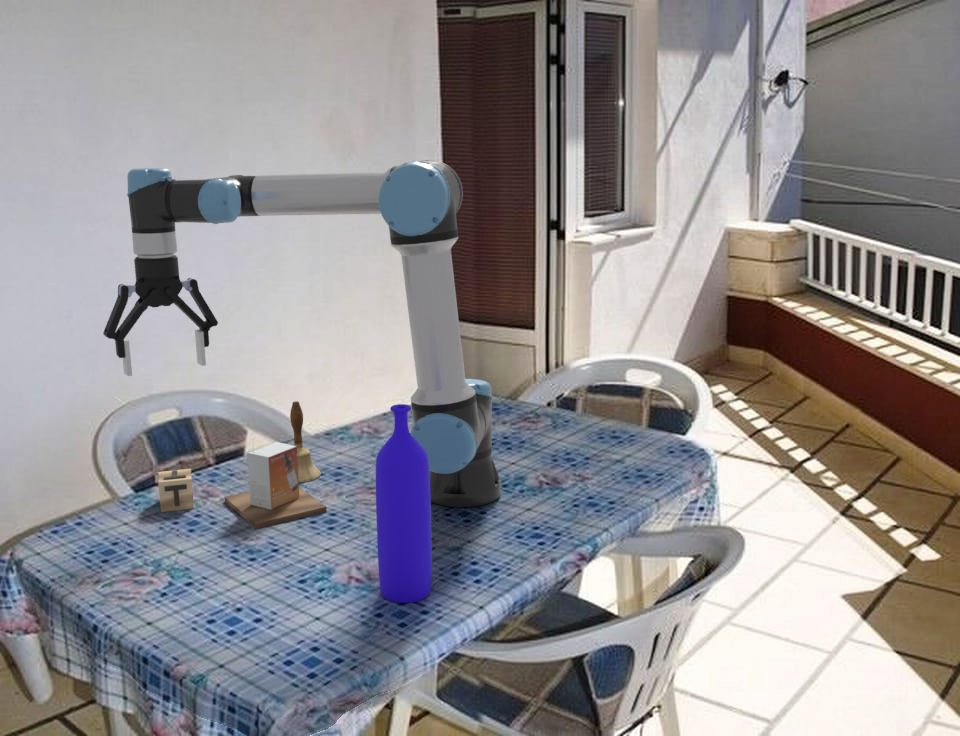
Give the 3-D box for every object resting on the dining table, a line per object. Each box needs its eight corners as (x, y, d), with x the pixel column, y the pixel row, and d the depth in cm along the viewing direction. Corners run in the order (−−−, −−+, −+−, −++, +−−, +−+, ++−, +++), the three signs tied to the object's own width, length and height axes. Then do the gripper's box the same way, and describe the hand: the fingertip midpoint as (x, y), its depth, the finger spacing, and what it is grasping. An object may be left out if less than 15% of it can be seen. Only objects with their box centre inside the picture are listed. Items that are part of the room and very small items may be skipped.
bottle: (425, 607, 145) (420, 415, 138) (372, 602, 147) (365, 412, 140) (438, 582, 153) (434, 400, 146) (388, 578, 155) (382, 397, 148)
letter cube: (194, 508, 184) (191, 478, 183) (161, 512, 182) (158, 481, 181) (193, 497, 190) (190, 467, 188) (161, 501, 188) (158, 470, 187)
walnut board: (326, 511, 182) (326, 506, 182) (255, 528, 174) (255, 523, 174) (292, 486, 195) (292, 482, 195) (224, 501, 187) (224, 496, 187)
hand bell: (272, 480, 199) (267, 405, 195) (294, 467, 206) (290, 395, 203) (307, 485, 196) (303, 409, 192) (328, 472, 203) (324, 398, 200)
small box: (271, 511, 180) (267, 457, 177) (249, 505, 183) (245, 452, 180) (300, 497, 186) (297, 445, 184) (279, 492, 189) (276, 440, 187)
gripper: (216, 248, 185) (223, 356, 190) (78, 258, 171) (90, 374, 176) (229, 252, 178) (237, 363, 184) (88, 263, 165) (100, 383, 170)
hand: (165, 369), depth 180 cm, fingers open, 13 cm apart
